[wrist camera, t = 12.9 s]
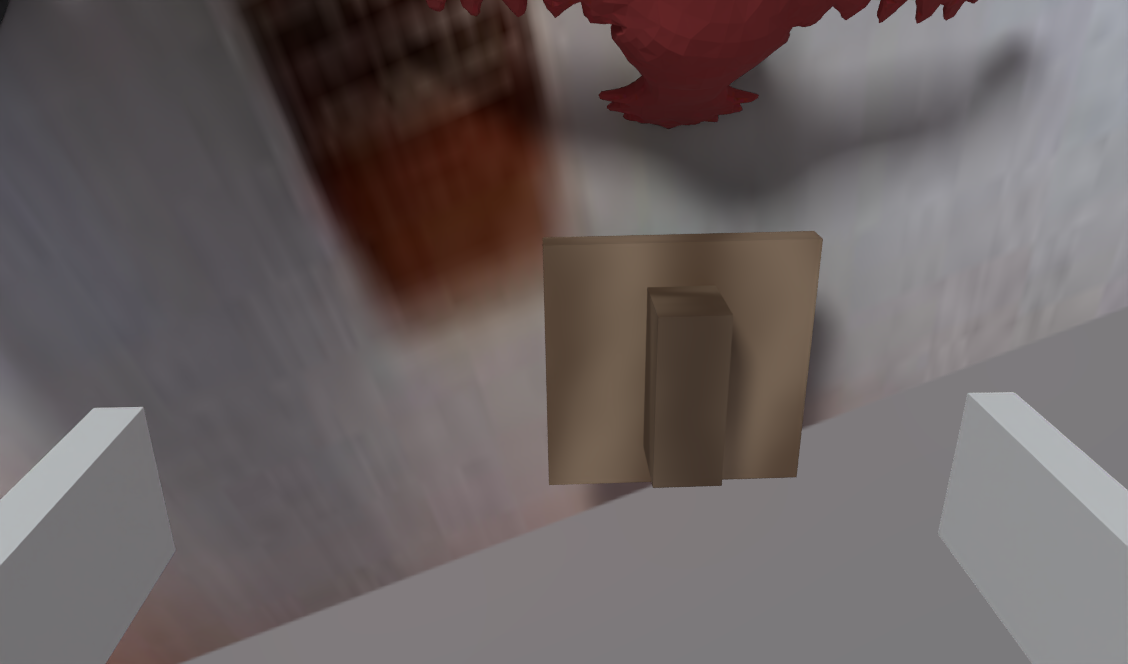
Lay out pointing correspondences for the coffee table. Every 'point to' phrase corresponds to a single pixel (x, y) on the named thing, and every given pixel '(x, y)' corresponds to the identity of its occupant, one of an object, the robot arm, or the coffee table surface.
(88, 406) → the coffee table surface
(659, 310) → the walnut lid
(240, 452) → the coffee table surface
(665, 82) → the decorative bird sculpture
